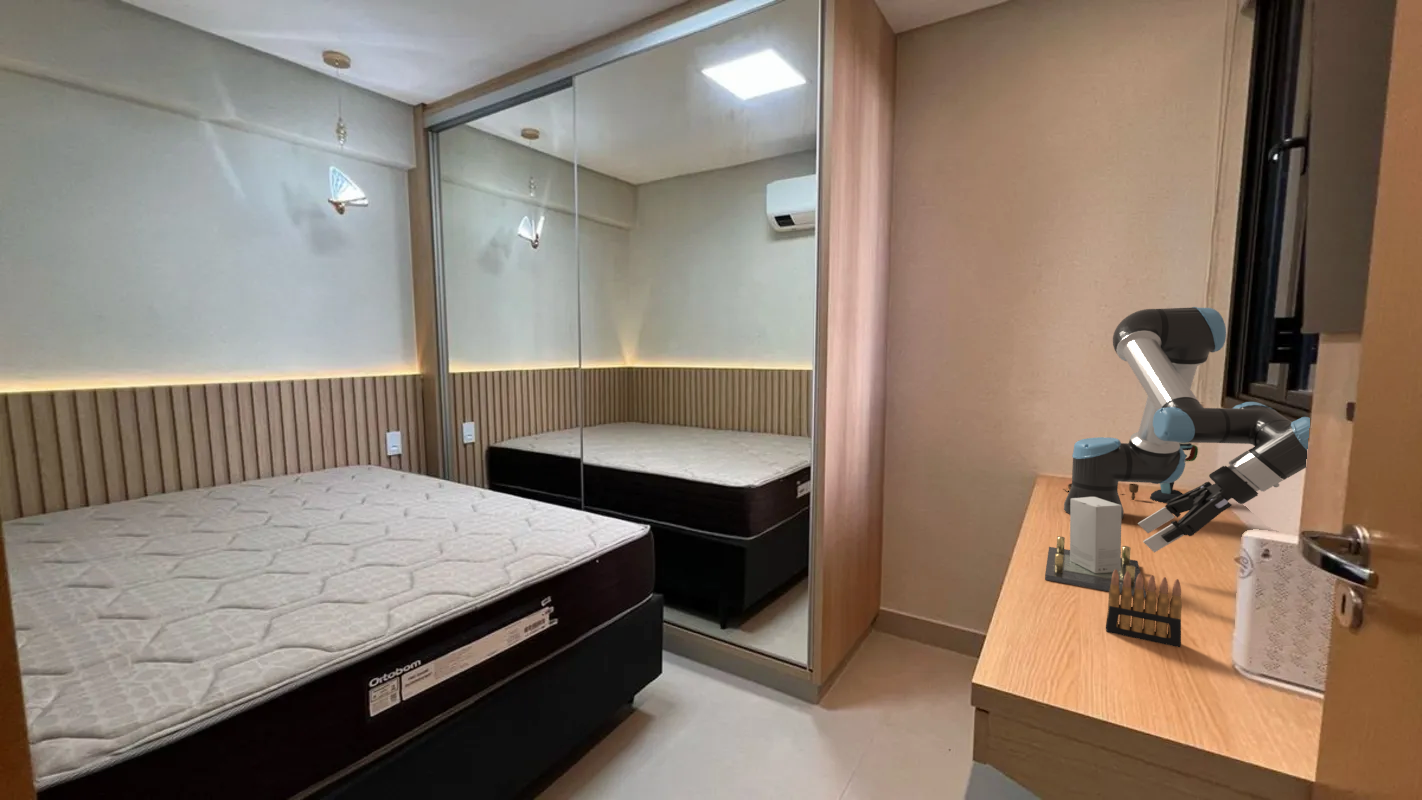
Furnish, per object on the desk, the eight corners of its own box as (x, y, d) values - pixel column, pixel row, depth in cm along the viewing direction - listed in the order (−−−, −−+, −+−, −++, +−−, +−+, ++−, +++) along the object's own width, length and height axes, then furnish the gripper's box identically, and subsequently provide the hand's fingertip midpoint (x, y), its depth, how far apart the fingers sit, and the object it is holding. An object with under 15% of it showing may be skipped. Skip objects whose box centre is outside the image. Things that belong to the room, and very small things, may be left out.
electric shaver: (1143, 496, 188) (1146, 438, 186) (1181, 496, 187) (1185, 438, 185) (1161, 504, 179) (1165, 443, 177) (1201, 504, 178) (1206, 443, 176)
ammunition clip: (1179, 643, 99) (1183, 578, 98) (1180, 647, 97) (1185, 582, 96) (1105, 627, 104) (1109, 566, 103) (1106, 632, 103) (1109, 569, 102)
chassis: (1048, 551, 142) (1049, 531, 141) (1137, 565, 132) (1138, 544, 131) (1044, 579, 125) (1045, 557, 125) (1145, 598, 115) (1146, 574, 115)
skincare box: (1121, 573, 125) (1125, 505, 123) (1093, 574, 124) (1097, 507, 123) (1092, 558, 133) (1095, 495, 131) (1066, 560, 132) (1069, 496, 131)
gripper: (1278, 509, 101) (1167, 570, 111) (1245, 479, 122) (1154, 534, 131) (1240, 477, 103) (1135, 540, 113) (1214, 453, 124) (1127, 509, 134)
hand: (1145, 537), depth 122 cm, fingers open, 13 cm apart
